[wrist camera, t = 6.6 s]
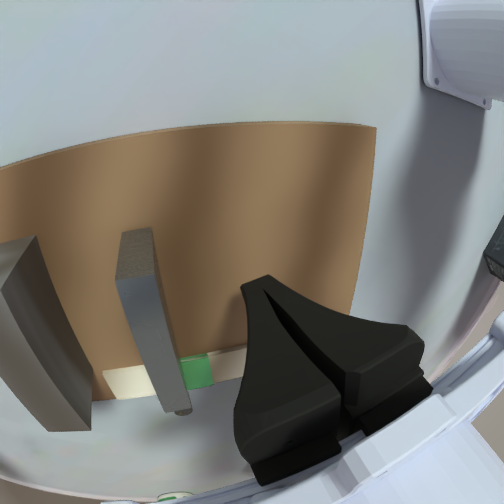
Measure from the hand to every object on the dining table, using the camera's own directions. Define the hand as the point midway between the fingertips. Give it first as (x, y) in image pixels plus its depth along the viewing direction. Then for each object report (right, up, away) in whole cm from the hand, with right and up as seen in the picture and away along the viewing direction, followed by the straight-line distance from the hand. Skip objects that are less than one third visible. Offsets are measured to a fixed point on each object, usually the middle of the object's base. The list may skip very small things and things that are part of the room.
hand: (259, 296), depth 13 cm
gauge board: (-3, +1, +2) cm, 4 cm away
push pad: (-5, -2, 0) cm, 5 cm away
